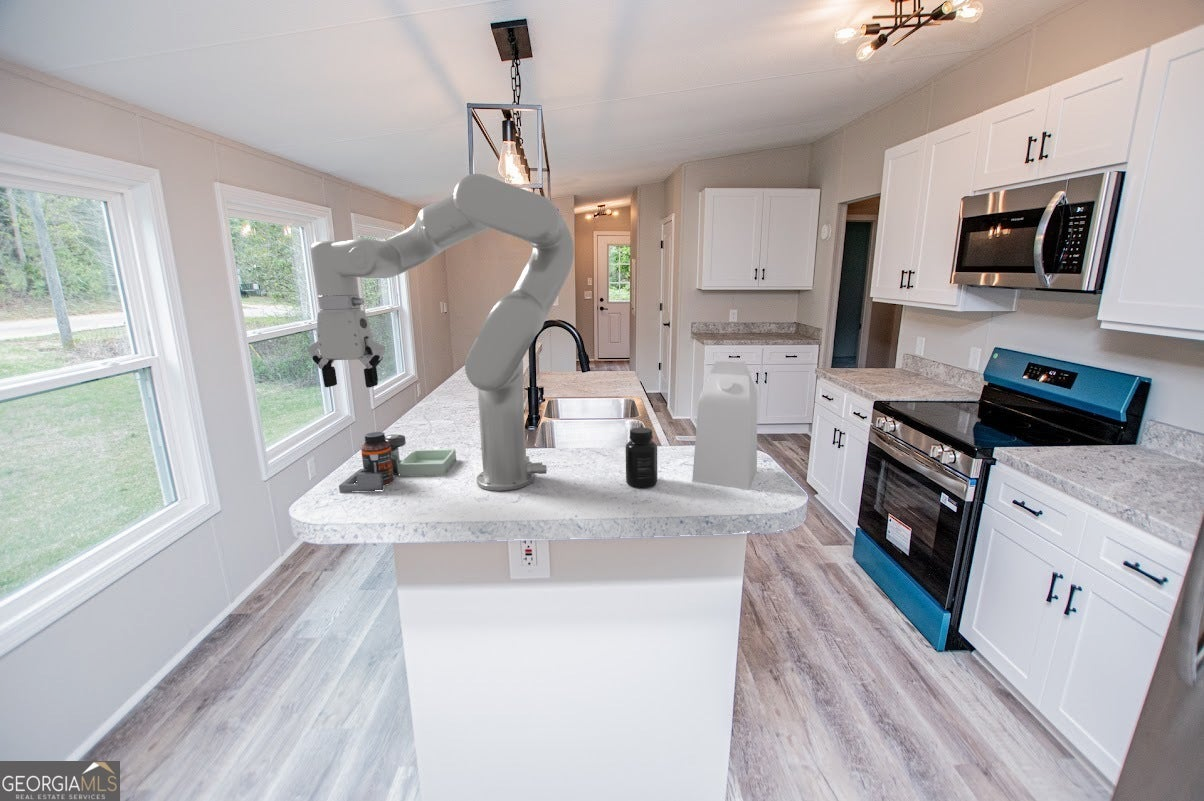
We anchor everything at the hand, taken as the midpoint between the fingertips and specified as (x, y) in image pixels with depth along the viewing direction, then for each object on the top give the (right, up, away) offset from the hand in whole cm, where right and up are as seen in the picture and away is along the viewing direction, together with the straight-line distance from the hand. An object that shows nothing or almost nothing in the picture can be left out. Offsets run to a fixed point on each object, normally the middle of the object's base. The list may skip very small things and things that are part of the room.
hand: (351, 386), depth 107 cm
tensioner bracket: (+2, -21, +5) cm, 22 cm away
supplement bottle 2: (+62, -21, +2) cm, 65 cm away
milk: (+81, -20, +5) cm, 84 cm away
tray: (+12, -19, +14) cm, 26 cm away
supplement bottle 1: (+4, -22, +5) cm, 23 cm away
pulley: (+3, -19, +16) cm, 25 cm away
